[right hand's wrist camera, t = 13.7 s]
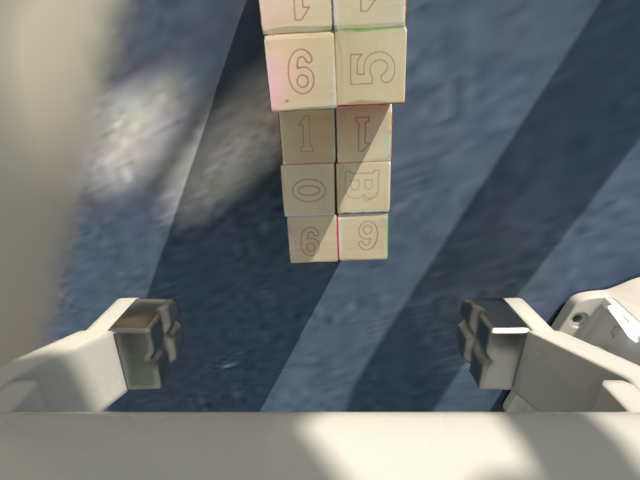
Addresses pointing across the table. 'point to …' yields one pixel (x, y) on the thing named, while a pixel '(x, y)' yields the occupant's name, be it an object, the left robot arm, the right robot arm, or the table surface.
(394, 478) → the right robot arm
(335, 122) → the stack of blocks
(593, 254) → the table surface
